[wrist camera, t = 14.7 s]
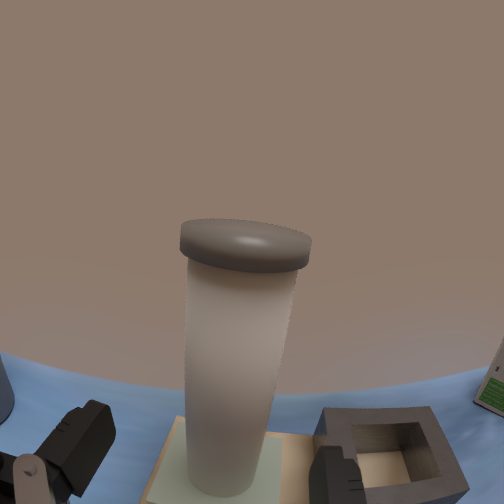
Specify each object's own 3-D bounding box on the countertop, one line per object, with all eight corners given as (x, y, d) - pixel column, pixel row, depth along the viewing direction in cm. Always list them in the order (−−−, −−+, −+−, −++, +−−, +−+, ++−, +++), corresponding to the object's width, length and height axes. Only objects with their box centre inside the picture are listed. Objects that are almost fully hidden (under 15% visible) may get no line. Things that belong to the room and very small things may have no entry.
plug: (173, 491, 15) (160, 233, 11) (192, 438, 21) (200, 214, 16) (256, 507, 15) (319, 254, 10) (262, 450, 20) (306, 228, 16)
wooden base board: (138, 515, 13) (124, 485, 12) (177, 422, 24) (175, 383, 23) (439, 522, 12) (474, 490, 10) (410, 439, 22) (430, 403, 21)
